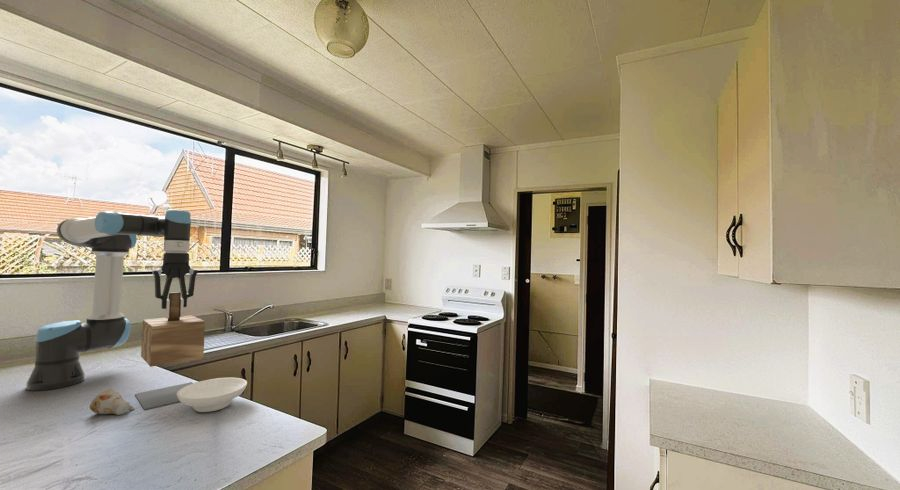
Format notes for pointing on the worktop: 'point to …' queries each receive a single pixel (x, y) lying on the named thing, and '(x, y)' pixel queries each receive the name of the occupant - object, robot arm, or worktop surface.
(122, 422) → the worktop surface
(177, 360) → the wooden block with knob
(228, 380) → the bowl
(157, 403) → the mat
